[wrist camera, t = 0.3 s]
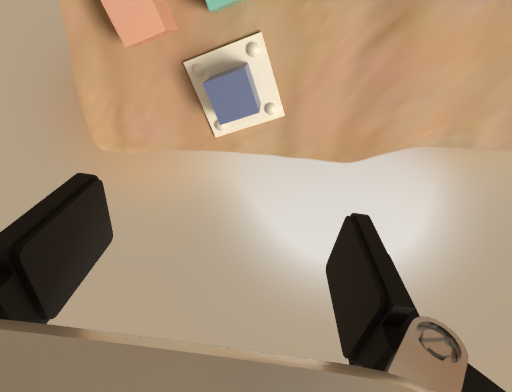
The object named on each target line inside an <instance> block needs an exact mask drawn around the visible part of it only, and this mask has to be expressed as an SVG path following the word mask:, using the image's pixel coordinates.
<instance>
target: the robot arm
mask: <svg viewBox="0 0 512 392" xmlns="http://www.w3.org/2000/svg"><path fill="white" fill-rule="evenodd" d="M112 238H113V231H112V226H111V221H110V216H109V211H108V206H107V202H106V197H105V192H104V187H103V183H102V181H101V180H99V179H98V177H97V176H95V175H91V174H84V173H77V174H76V175H74V176H73V177H72V178H70V179H69V180H68V181H67V182H65V183H64V184H63V185H61V186H60V187H59V188H57V189H56V190H55V191H53V192H52V193H51V194H50V195H48V196H47V197H46V198H44V199H43V200H42V201H40V202H39V203H38V204H37V205H35V206H34V207H33V208H31V209H30V210H29V211H27V212H26V213H25V214H24V215H22V216H21V217H20V218H18V219H17V220H16V221H14V222H13V223H12V224H11V225H9V226H8V227H7V228H5V229H4V230H3V231H1V232H0V392H505V391H504V390H503V389H501V388H500V387H499V386H497V385H496V384H495V383H493V382H492V381H491V380H489V379H488V378H487V377H486V376H484V375H483V374H482V373H480V372H479V371H478V370H476V369H475V368H473V367H472V366H471V365H470V364H468V354H467V351H466V348H465V346H464V344H463V343H462V341H461V340H460V338H459V337H458V336H457V335H456V334H455V333H454V332H453V331H452V330H451V329H450V328H448V327H447V326H446V325H444V324H443V323H441V322H439V321H437V320H435V319H432V318H429V317H420V316H419V314H418V312H417V310H416V308H415V306H414V304H413V302H412V300H411V298H410V296H409V294H408V292H407V290H406V288H405V286H404V284H403V282H402V280H401V278H400V276H399V274H398V272H397V270H396V268H395V265H394V263H393V262H392V259H391V257H390V256H389V254H388V253H387V251H386V249H385V247H384V245H383V243H382V241H381V239H380V237H379V235H378V233H377V231H376V229H375V227H374V225H373V223H372V221H371V219H370V217H369V216H368V215H364V214H357V213H352V214H351V216H347V217H346V218H345V220H344V223H343V225H342V227H341V230H340V232H339V235H338V237H337V240H336V242H335V245H334V247H333V250H332V252H331V254H330V257H329V259H328V262H327V265H326V275H327V280H328V285H329V290H330V294H331V299H332V304H333V309H334V313H335V319H336V323H337V328H338V333H339V338H340V343H341V348H342V352H343V355H344V357H345V358H348V360H349V365H347V364H340V363H334V362H327V361H321V360H314V359H308V358H300V357H294V356H286V355H278V354H271V353H264V352H257V351H249V350H242V349H234V348H227V347H220V346H212V345H205V344H197V343H189V342H181V341H173V340H166V339H158V338H151V337H143V336H136V335H128V334H120V333H112V332H104V331H96V330H88V329H80V328H71V327H64V326H56V325H48V324H47V322H48V321H49V320H50V319H53V318H55V317H56V316H57V315H58V313H59V312H60V311H61V309H62V308H63V306H64V305H65V304H66V303H67V301H68V300H69V298H70V297H71V296H72V294H73V293H74V292H75V290H76V289H77V288H78V286H79V285H80V283H81V282H82V281H83V280H84V278H85V277H86V276H87V274H88V273H89V271H90V270H91V269H92V267H93V266H94V265H95V263H96V262H97V261H98V259H99V258H100V257H101V255H102V254H103V252H104V251H105V250H106V248H107V247H108V246H109V244H110V243H111V241H112Z"/></svg>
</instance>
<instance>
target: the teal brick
mask: <svg viewBox="0 0 512 392" xmlns="http://www.w3.org/2000/svg"><path fill="white" fill-rule="evenodd" d="M243 1H245V0H206V3H207V6H208V9H209V11H210V12H219V11H222V10H224V9H226V8H229V7H231V6H233V5H236V4H238V3H240V2H243Z"/></svg>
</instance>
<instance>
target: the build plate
mask: <svg viewBox="0 0 512 392" xmlns="http://www.w3.org/2000/svg"><path fill="white" fill-rule="evenodd" d="M183 63H184V65H185V68H186V70H187V72H188V75H189V77H190V79H191V82H192V84H193V86H194V89H195V91H196V93H197V95H198V98H199V100H200V102H201V105H202V107H203V109H204V112H205V114H206V116H207V119H208V121H209V123H210V125H211V128H212V130H213V132H214V135H215V137H219V136H222V135H225V134H228V133H231V132H235V131H238V130H241V129H244V128H247V127H251V126H254V125H257V124H260V123H263V122H267V121H270V120H273V119H276V118H279V117H283V116H285V114H284V111H283V107H282V104H281V100H280V96H279V93H278V89H277V86H276V82H275V78H274V75H273V71H272V68H271V64H270V61H269V57H268V53H267V50H266V46H265V43H264V39H263V35H262V32H259V33H257V34H254V35H252V36H249V37H247V38H244V39H242V40H239V41H236V42H234V43H231V44H229V45H226V46H224V47H221V48H219V49H216V50H214V51H211V52H208V53H206V54H203V55H201V56H198V57H196V58H193V59H191V60H188V61H186V62H183Z"/></svg>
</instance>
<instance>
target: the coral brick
mask: <svg viewBox="0 0 512 392" xmlns="http://www.w3.org/2000/svg"><path fill="white" fill-rule="evenodd" d="M101 2H102V4H103V6H104V8H105V10H106V12H107V14H108V16H109V18H110V20H111V21H112V23H113V25H114V27H115V29H116V31H117V33H118V35H119V37H120V39H121V41H122V42H123V44H124V46H125V48H127V47H132V46H138V45H142V44H144V43H146V42H149V41H151V40H154V39H156V38H158V37H161V36H163V35H165V34H168V33H170V32H172V31H175V30H177V27H176V24H175V22H174V20H173V17H172V15H171V12H170V10H169V8H168V5H167V3H166V0H101Z"/></svg>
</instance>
